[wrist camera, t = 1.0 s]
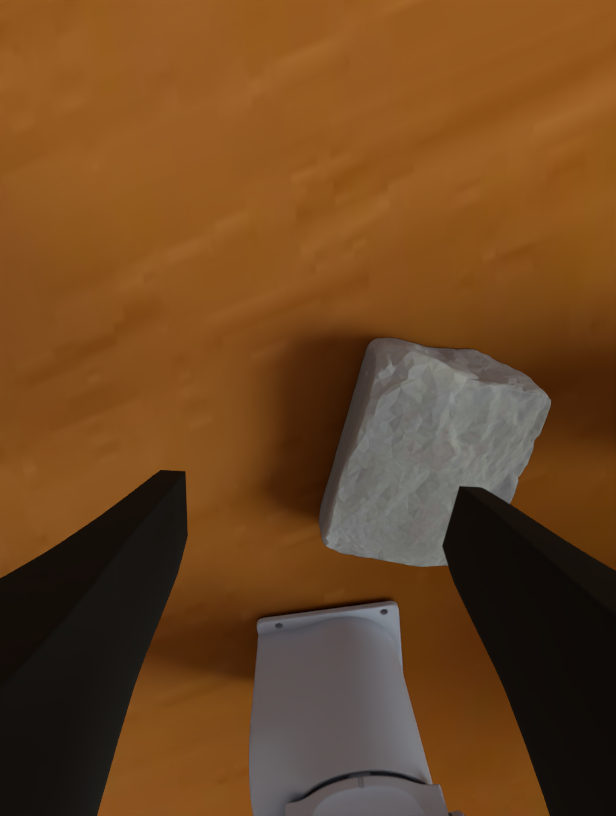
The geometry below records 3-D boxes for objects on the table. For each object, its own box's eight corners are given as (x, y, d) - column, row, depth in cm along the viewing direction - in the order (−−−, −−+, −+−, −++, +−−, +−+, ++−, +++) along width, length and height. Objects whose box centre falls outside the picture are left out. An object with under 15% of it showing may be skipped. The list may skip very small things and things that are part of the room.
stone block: (515, 353, 22) (353, 323, 19) (588, 384, 18) (395, 351, 15) (442, 519, 26) (302, 516, 23) (487, 576, 22) (323, 581, 19)
